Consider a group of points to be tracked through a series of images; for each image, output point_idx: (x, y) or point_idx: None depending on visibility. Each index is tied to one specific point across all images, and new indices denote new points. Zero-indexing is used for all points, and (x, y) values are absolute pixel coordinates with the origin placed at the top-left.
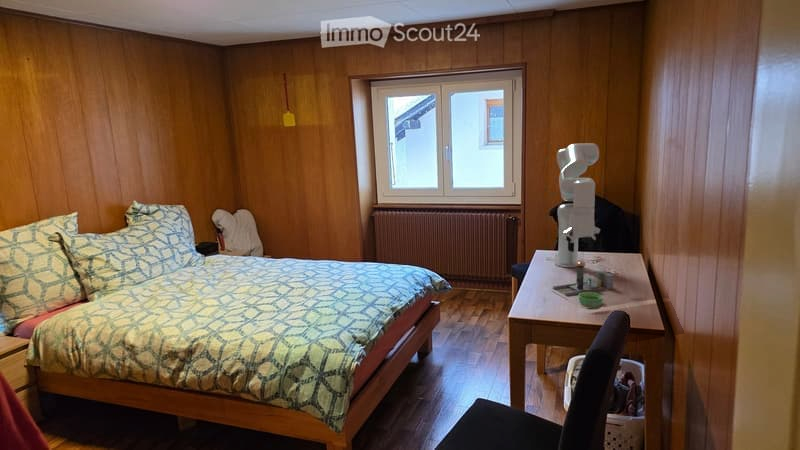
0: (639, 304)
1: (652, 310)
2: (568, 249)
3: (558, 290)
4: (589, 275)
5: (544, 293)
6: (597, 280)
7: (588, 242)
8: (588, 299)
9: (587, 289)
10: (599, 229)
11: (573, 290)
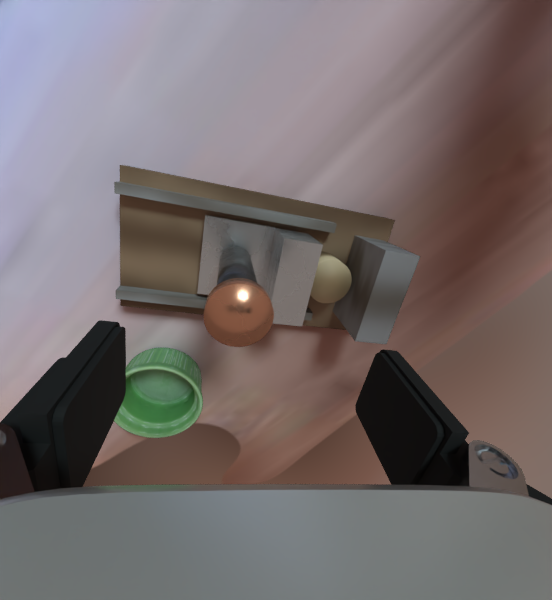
0: (313, 418)
1: (300, 456)
2: (97, 330)
3: (130, 218)
4: (309, 274)
5: (69, 171)
6: (329, 288)
7: (408, 400)
8: (120, 426)
9: None
10: None
11: (199, 255)
